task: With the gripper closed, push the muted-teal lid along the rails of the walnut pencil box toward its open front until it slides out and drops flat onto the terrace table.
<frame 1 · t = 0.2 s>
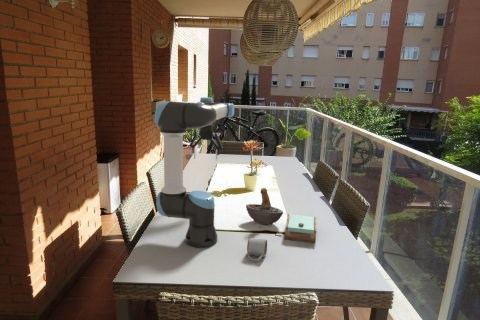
hand: (205, 159, 208), 28 cm above the table, fingers open, 13 cm apart
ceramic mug: (256, 256, 152), on the table
planter: (263, 223, 188), on the table
box: (300, 233, 177), on the table
lid: (301, 225, 175), point 4 cm above the table, touching box
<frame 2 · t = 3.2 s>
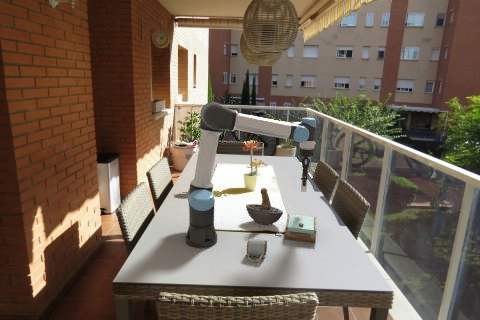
hand: (303, 188, 184), 20 cm above the table, fingers open, 12 cm apart
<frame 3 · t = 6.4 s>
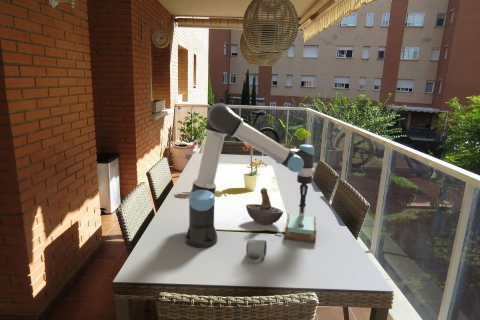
hand: (301, 217, 183), 5 cm above the table, fingers closed
lid: (301, 226, 174), point 5 cm above the table, touching gripper
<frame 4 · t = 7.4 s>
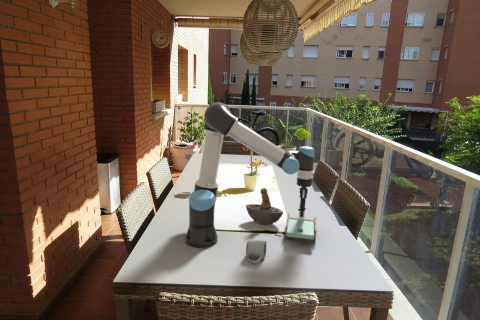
hand: (301, 221, 178), 5 cm above the table, fingers closed
lid: (300, 230, 169), point 4 cm above the table, touching box, gripper
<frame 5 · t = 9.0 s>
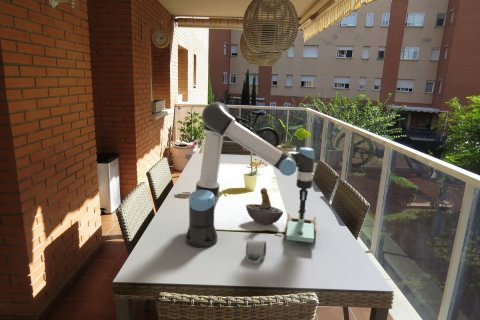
hand: (301, 224, 175), 5 cm above the table, fingers closed
lid: (300, 233, 166), point 4 cm above the table, touching gripper
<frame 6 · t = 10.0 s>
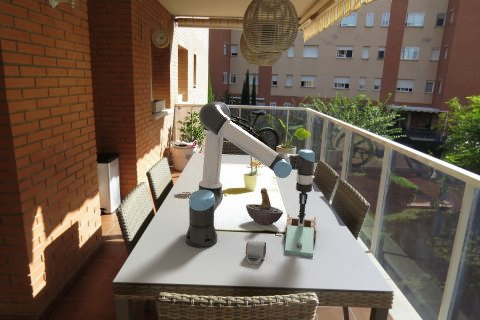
hand: (300, 228, 169), 5 cm above the table, fingers closed
lid: (299, 241, 162), point 3 cm above the table, tilted 18°, touching gripper
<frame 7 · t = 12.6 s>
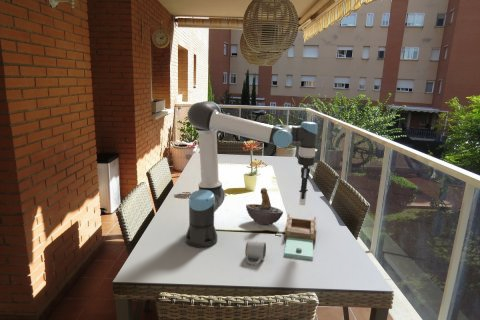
hand: (302, 204, 164), 19 cm above the table, fingers closed
lid: (298, 250, 160), on the table
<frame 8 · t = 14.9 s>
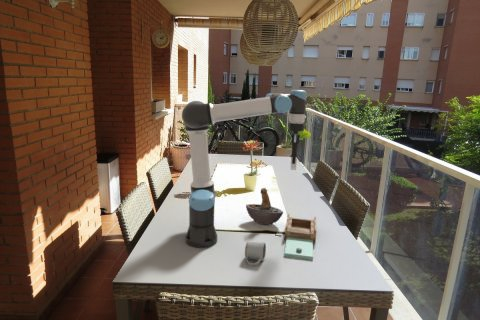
hand: (293, 169, 173), 32 cm above the table, fingers closed
at the end: lid inside the target area (4.5 cm from its centre), on the table; lid tilted 0° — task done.
